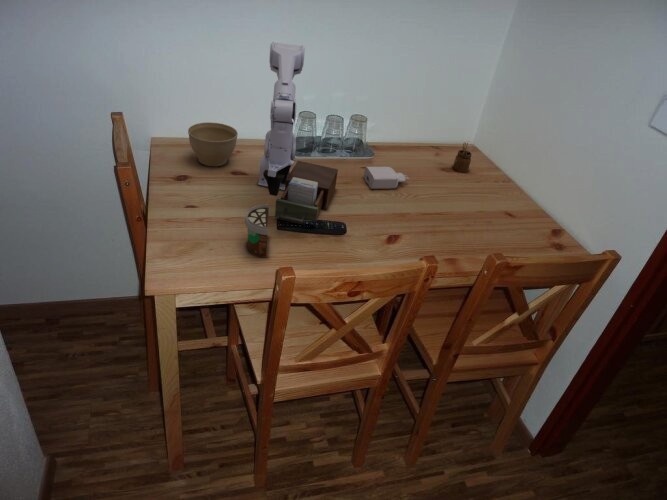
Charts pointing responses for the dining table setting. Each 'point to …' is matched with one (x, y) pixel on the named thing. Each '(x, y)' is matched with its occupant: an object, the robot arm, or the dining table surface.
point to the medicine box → (302, 191)
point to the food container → (257, 229)
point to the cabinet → (316, 178)
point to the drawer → (298, 208)
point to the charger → (383, 177)
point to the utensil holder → (462, 159)
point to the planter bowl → (212, 142)
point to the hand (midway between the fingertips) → (277, 188)
